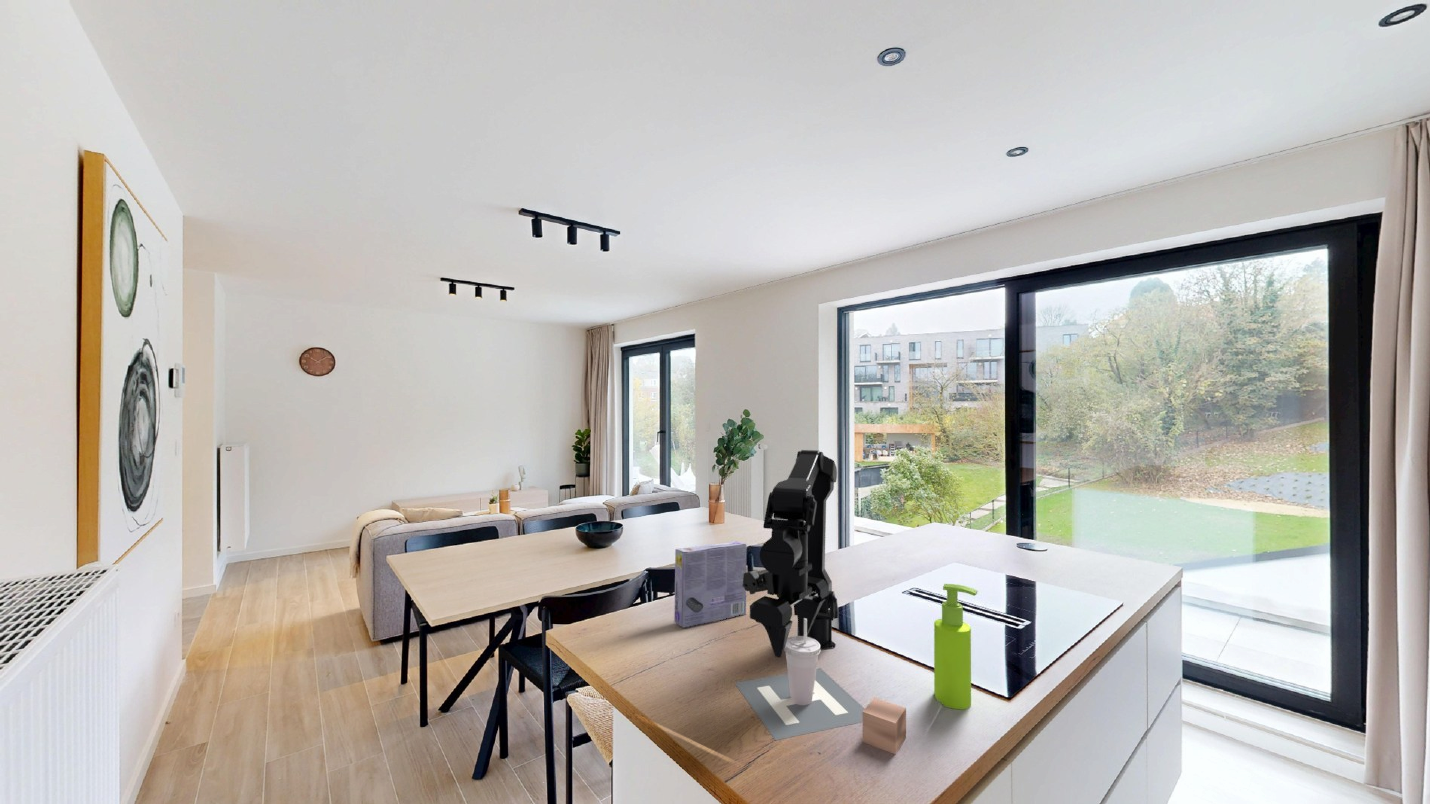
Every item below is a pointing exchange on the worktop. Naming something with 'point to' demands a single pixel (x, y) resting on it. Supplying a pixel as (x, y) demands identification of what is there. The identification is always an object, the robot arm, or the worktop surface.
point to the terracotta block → (884, 725)
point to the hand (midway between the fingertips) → (791, 647)
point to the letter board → (793, 719)
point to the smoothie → (802, 666)
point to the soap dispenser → (953, 652)
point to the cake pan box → (709, 583)
